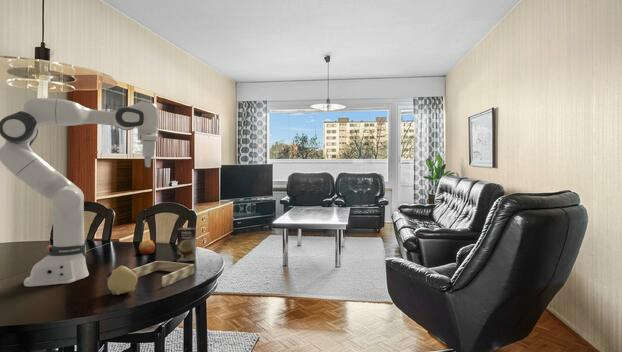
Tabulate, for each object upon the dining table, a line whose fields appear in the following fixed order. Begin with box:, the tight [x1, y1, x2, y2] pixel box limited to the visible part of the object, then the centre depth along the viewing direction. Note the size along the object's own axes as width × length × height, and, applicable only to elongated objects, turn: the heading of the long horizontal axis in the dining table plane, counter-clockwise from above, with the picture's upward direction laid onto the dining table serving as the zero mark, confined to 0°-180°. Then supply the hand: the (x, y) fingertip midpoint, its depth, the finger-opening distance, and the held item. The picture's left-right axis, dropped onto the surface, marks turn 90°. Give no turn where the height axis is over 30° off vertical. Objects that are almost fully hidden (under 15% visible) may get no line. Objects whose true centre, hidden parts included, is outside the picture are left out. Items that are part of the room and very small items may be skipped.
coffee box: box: [176, 227, 197, 262], centre depth 187 cm, size 9×6×16 cm
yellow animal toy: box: [107, 265, 139, 296], centre depth 137 cm, size 10×12×11 cm
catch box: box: [130, 260, 196, 288], centre depth 157 cm, size 20×20×4 cm
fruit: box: [138, 239, 156, 255], centre depth 201 cm, size 8×8×8 cm
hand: (147, 166), depth 171 cm, fingers open, 8 cm apart
